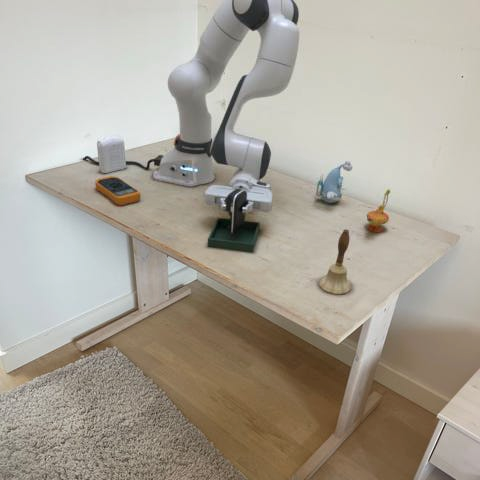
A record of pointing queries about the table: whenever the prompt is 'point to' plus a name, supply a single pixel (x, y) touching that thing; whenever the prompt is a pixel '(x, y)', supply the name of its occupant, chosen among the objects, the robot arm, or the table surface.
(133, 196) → the multimeter
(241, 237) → the storage box
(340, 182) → the toy figure
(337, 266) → the hand bell
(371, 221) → the magic lamp
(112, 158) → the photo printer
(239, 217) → the battery charger
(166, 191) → the table surface
